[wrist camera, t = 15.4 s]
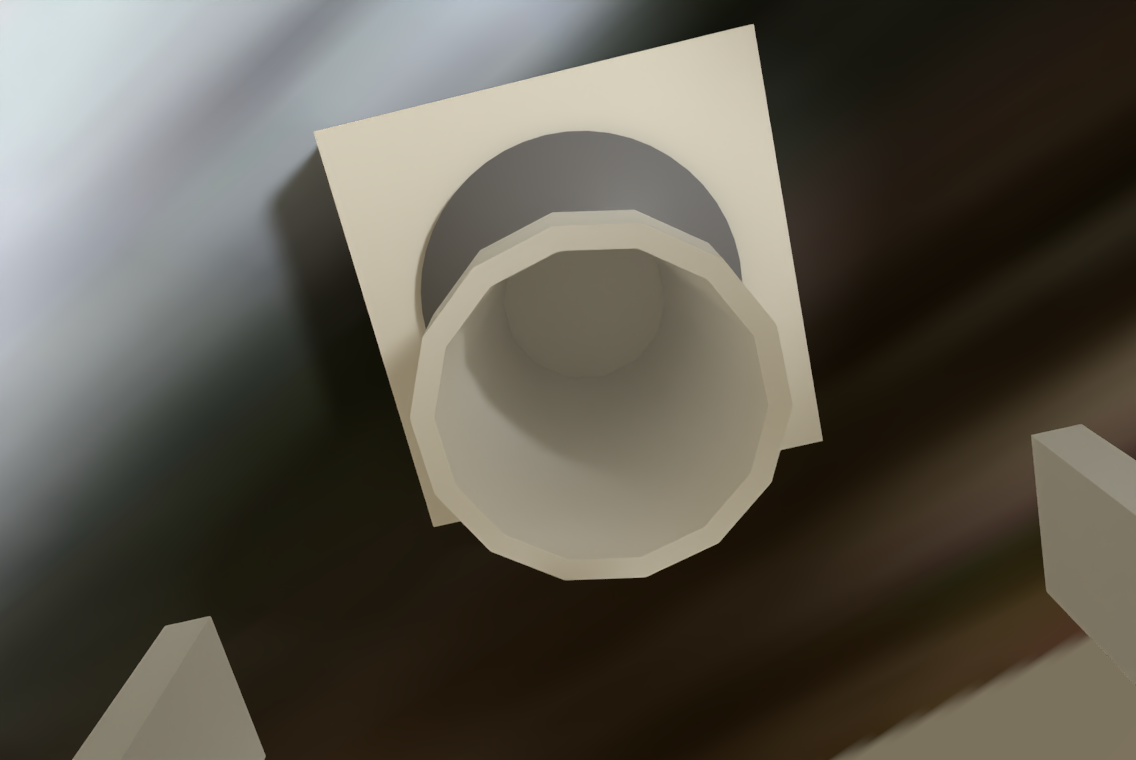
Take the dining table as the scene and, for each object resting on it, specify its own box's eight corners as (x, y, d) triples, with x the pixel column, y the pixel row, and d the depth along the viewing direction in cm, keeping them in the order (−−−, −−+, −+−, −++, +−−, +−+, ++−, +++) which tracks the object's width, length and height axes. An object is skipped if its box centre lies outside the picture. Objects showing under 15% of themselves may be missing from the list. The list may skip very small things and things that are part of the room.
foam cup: (758, 312, 37) (864, 433, 25) (571, 461, 39) (582, 645, 26) (597, 113, 35) (624, 136, 22) (405, 281, 36) (331, 389, 24)
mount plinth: (336, 125, 39) (310, 132, 35) (733, 28, 38) (756, 23, 34) (443, 487, 44) (432, 531, 40) (798, 407, 43) (825, 444, 39)
